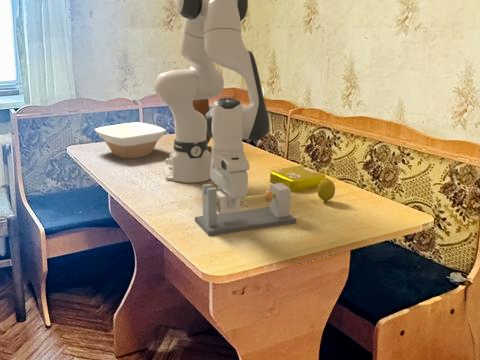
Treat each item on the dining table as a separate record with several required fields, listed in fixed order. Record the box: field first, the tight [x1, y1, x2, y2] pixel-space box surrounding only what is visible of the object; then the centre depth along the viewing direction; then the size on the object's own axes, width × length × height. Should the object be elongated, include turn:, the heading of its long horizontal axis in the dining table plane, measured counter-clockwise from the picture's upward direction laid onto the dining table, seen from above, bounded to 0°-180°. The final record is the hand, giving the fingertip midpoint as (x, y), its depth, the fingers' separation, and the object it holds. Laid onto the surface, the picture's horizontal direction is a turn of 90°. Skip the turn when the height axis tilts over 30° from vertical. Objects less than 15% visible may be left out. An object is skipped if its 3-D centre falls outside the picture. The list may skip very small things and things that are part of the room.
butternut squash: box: [193, 99, 212, 144], centre depth 250 cm, size 14×13×25 cm
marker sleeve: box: [216, 190, 241, 214], centre depth 167 cm, size 5×6×5 cm
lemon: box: [316, 177, 336, 203], centre depth 188 cm, size 6×6×8 cm
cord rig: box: [194, 183, 297, 237], centre depth 169 cm, size 12×27×12 cm, turn 112°
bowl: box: [94, 121, 167, 160], centre depth 243 cm, size 24×25×11 cm
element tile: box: [269, 165, 326, 193], centre depth 207 cm, size 15×15×5 cm
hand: (227, 204), depth 167 cm, fingers closed on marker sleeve, 5 cm apart
